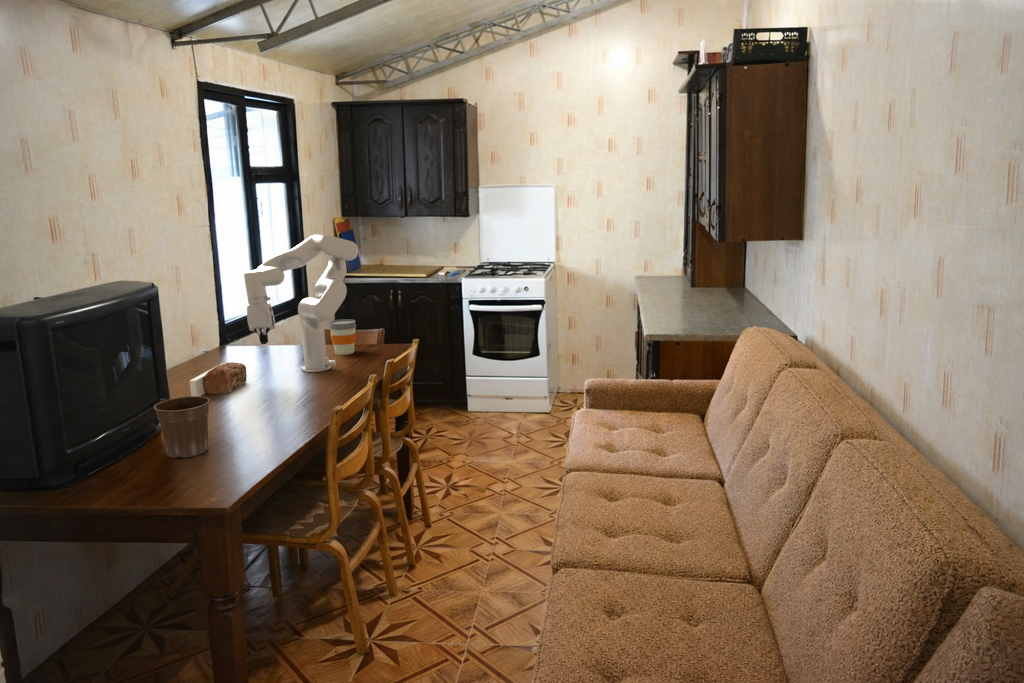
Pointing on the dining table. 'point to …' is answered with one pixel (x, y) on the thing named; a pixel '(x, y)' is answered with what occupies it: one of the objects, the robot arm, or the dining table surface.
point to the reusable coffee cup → (343, 336)
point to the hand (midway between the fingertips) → (264, 343)
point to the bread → (225, 378)
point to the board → (198, 385)
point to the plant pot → (184, 425)
